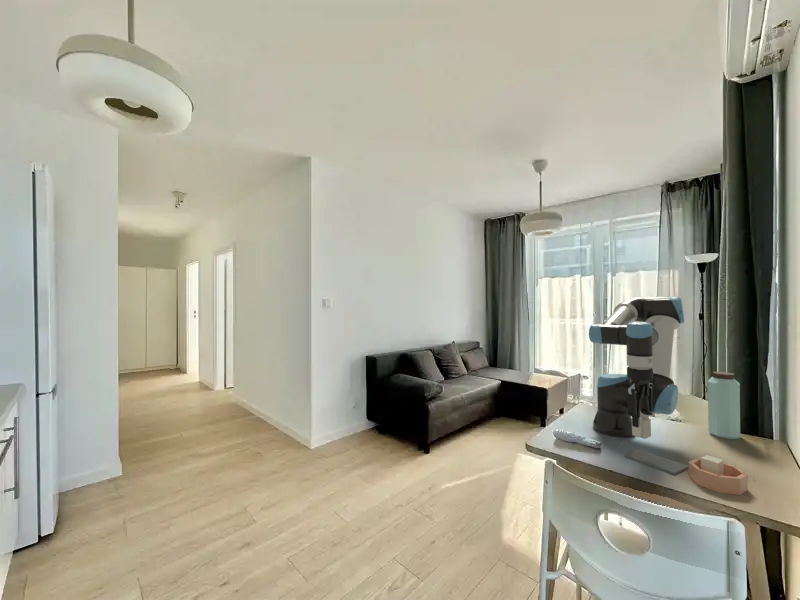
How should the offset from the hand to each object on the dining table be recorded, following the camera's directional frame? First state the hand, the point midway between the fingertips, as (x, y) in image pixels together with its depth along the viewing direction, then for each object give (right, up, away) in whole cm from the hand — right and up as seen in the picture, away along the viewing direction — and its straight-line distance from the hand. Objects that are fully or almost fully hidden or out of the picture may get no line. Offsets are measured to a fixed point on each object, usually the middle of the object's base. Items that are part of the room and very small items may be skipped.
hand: (640, 434), depth 122 cm
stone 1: (0, 0, 0) cm, 0 cm away
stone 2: (+10, -7, -17) cm, 21 cm away
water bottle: (+45, -8, +18) cm, 49 cm away
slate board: (+2, -8, -4) cm, 9 cm away
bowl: (+10, -8, -18) cm, 22 cm away
